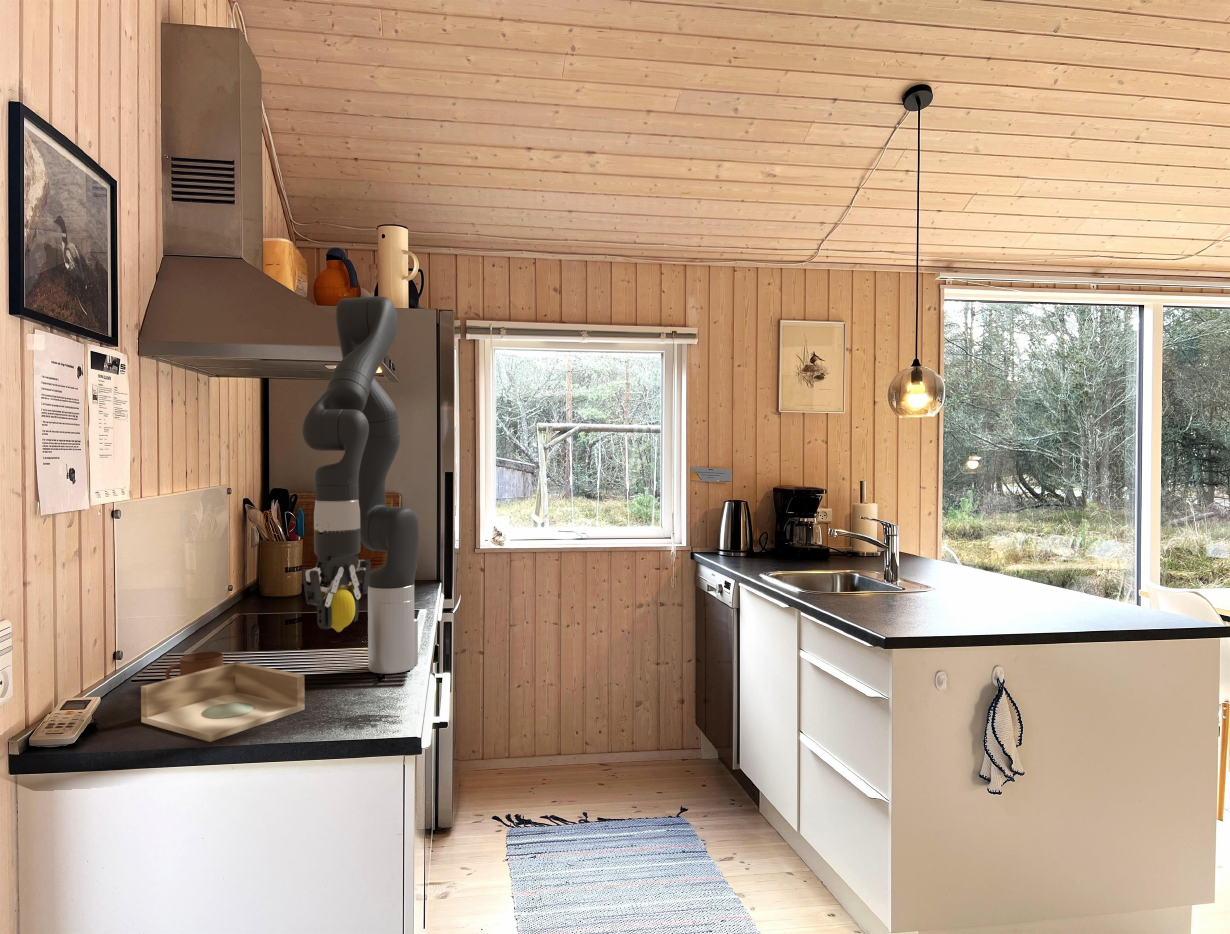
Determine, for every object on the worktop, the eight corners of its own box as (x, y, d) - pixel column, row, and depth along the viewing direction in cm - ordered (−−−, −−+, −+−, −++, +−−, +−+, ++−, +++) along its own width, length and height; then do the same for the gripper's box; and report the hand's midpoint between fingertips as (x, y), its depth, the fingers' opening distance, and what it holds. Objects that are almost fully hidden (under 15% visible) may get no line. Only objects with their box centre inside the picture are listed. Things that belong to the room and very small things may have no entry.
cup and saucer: (192, 702, 149) (191, 668, 149) (152, 692, 155) (151, 659, 155) (250, 685, 160) (250, 653, 160) (210, 676, 166) (210, 645, 166)
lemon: (356, 634, 141) (355, 587, 141) (321, 637, 139) (321, 589, 139) (354, 627, 146) (354, 582, 146) (321, 629, 145) (320, 583, 144)
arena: (237, 693, 154) (237, 661, 154) (304, 709, 145) (304, 675, 145) (141, 722, 138) (140, 686, 138) (210, 741, 129) (209, 703, 129)
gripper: (350, 521, 150) (351, 614, 151) (288, 529, 137) (289, 631, 138) (383, 523, 147) (384, 618, 148) (322, 531, 134) (323, 636, 135)
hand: (338, 624), depth 143 cm, fingers closed on lemon, 5 cm apart
